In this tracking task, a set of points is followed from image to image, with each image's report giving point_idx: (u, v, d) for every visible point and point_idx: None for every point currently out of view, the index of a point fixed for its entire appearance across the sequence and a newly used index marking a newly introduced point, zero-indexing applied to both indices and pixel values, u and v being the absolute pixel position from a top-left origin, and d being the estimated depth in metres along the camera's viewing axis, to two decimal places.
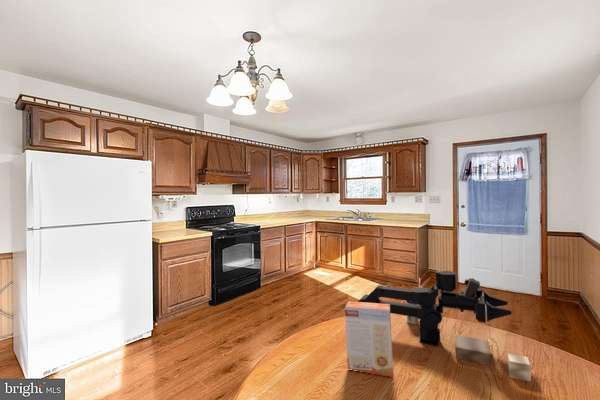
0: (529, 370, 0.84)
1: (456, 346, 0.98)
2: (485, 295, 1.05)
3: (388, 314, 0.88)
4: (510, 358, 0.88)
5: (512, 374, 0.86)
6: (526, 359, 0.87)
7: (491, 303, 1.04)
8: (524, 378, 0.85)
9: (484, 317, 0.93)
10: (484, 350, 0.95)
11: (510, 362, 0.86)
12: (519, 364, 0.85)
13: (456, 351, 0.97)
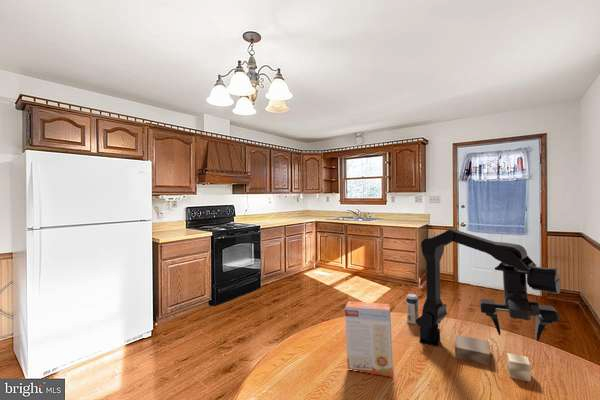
0: (529, 370, 0.84)
1: (456, 346, 0.98)
2: (539, 320, 0.84)
3: (388, 314, 0.88)
4: (510, 358, 0.88)
5: (512, 374, 0.86)
6: (526, 359, 0.87)
7: (536, 323, 0.86)
8: (524, 378, 0.85)
9: None
10: (483, 350, 0.95)
11: (510, 362, 0.86)
12: (519, 364, 0.85)
13: (456, 351, 0.98)
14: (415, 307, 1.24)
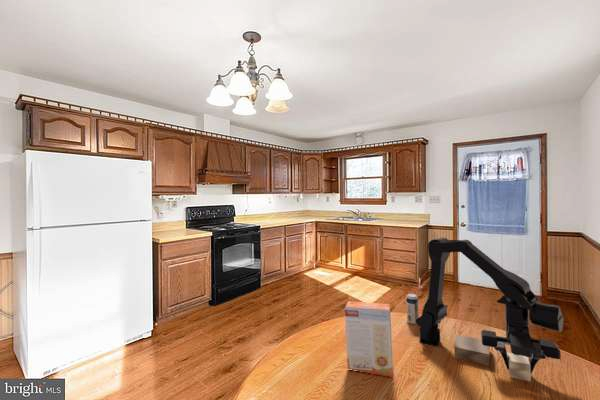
0: (529, 370, 0.84)
1: (455, 346, 0.98)
2: (532, 355, 0.84)
3: (388, 314, 0.88)
4: (510, 358, 0.88)
5: (512, 374, 0.86)
6: (526, 359, 0.87)
7: (529, 356, 0.87)
8: (524, 378, 0.85)
9: (481, 338, 0.93)
10: (483, 350, 0.95)
11: (510, 362, 0.86)
12: (519, 364, 0.85)
13: (455, 351, 0.98)
14: (415, 307, 1.24)
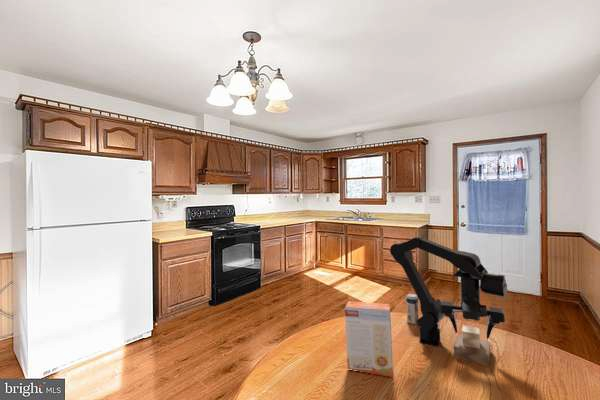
0: (478, 339, 0.96)
1: (455, 345, 0.99)
2: (489, 321, 0.95)
3: (388, 314, 0.88)
4: (464, 329, 1.00)
5: (464, 343, 0.98)
6: (477, 330, 0.99)
7: (487, 323, 0.98)
8: (474, 346, 0.97)
9: None
10: (483, 350, 0.95)
11: (463, 332, 0.98)
12: (470, 334, 0.97)
13: (454, 350, 0.98)
14: (415, 307, 1.24)
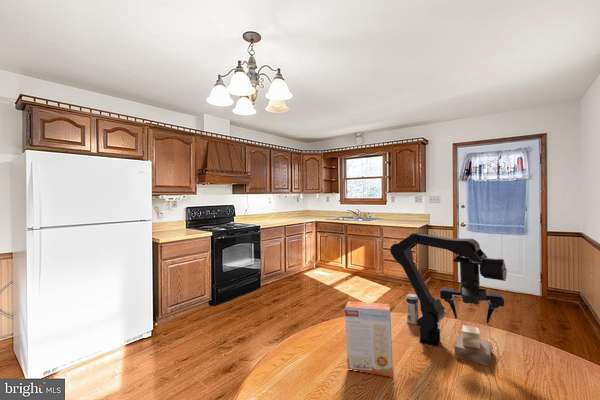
0: (478, 338, 0.96)
1: (455, 345, 0.99)
2: (488, 305, 0.95)
3: (388, 314, 0.88)
4: (464, 329, 1.00)
5: (464, 342, 0.98)
6: (477, 330, 0.99)
7: (487, 308, 0.98)
8: (474, 345, 0.97)
9: None
10: (483, 350, 0.95)
11: (463, 332, 0.98)
12: (470, 334, 0.97)
13: (455, 350, 0.98)
14: (415, 307, 1.24)
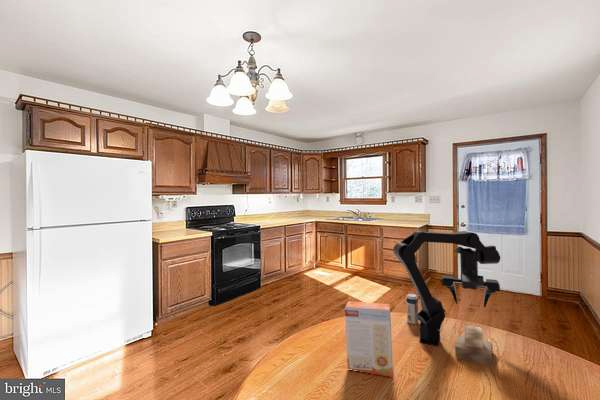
0: (481, 338, 0.96)
1: (456, 345, 0.99)
2: (485, 291, 1.06)
3: (388, 314, 0.88)
4: (466, 329, 1.00)
5: (467, 343, 0.98)
6: (480, 329, 0.99)
7: (484, 293, 1.08)
8: (477, 345, 0.97)
9: None
10: (484, 350, 0.95)
11: (466, 332, 0.98)
12: (473, 334, 0.97)
13: (456, 350, 0.98)
14: (415, 307, 1.24)
